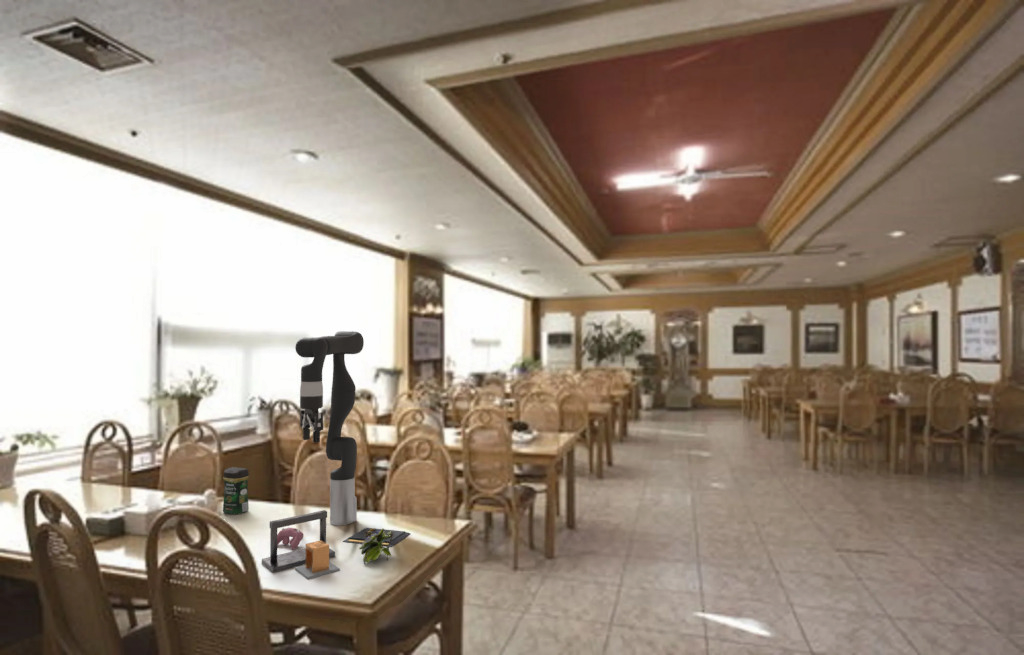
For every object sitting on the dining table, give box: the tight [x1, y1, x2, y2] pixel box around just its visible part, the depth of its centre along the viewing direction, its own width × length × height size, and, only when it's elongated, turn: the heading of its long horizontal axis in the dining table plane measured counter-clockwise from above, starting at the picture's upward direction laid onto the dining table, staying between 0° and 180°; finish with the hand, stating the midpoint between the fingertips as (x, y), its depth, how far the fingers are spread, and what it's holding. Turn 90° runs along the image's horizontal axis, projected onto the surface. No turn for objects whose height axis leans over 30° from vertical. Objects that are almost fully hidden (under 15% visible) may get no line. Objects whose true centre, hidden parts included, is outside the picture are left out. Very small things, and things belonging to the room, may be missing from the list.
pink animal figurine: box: [277, 527, 304, 551], centre depth 198 cm, size 10×5×7 cm, turn 68°
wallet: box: [342, 527, 411, 548], centre depth 205 cm, size 20×2×15 cm
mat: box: [294, 561, 340, 580], centre depth 176 cm, size 10×10×1 cm
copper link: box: [305, 539, 330, 573], centre depth 176 cm, size 6×5×7 cm
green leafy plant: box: [358, 528, 393, 565], centre depth 185 cm, size 11×11×12 cm
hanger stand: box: [261, 509, 336, 574], centre depth 184 cm, size 10×20×14 cm, turn 132°
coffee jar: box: [222, 466, 250, 515], centre depth 238 cm, size 10×8×19 cm
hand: (311, 441), depth 198 cm, fingers open, 8 cm apart
